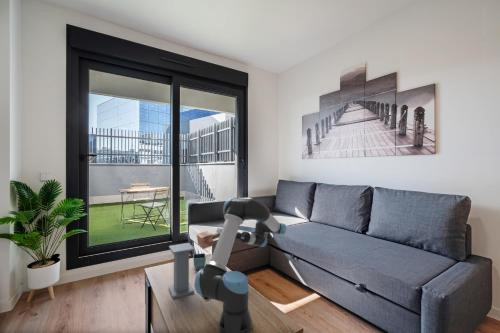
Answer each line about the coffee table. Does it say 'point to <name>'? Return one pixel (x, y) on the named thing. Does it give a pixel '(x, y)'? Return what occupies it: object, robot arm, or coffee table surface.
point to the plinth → (181, 270)
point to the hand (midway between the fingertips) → (218, 230)
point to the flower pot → (199, 261)
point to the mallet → (206, 239)
